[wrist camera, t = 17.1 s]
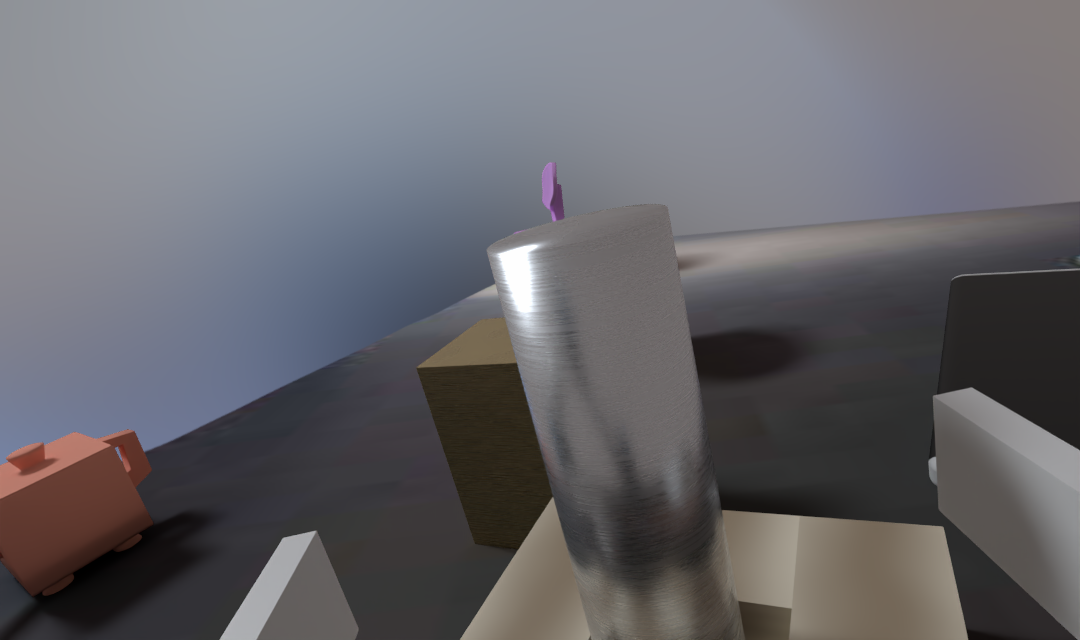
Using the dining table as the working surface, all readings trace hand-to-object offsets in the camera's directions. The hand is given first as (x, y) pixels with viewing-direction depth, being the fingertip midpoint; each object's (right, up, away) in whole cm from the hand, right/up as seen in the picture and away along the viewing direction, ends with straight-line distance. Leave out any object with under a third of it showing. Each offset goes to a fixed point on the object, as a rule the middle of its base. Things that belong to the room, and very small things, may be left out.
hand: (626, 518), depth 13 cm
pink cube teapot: (-32, -12, +26) cm, 43 cm away
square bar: (-1, -6, +19) cm, 20 cm away
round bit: (+3, -9, +5) cm, 10 cm away
